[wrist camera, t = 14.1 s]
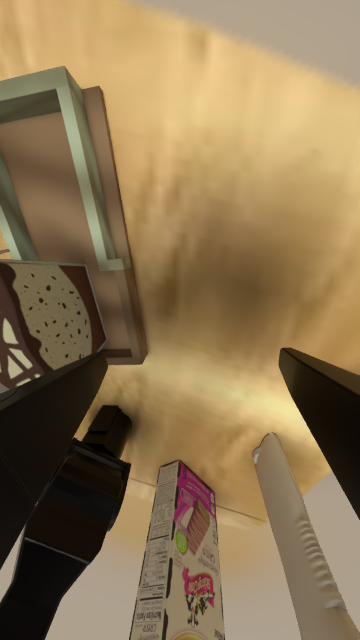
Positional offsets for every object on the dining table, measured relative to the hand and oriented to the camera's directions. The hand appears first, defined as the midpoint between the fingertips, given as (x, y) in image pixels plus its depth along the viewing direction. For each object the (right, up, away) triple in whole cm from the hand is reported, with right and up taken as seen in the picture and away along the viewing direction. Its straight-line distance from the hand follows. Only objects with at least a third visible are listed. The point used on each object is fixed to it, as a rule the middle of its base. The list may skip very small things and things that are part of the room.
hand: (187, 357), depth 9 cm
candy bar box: (+1, -27, +24) cm, 36 cm away
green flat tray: (-12, +9, +11) cm, 19 cm away
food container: (-13, +4, +13) cm, 19 cm away
